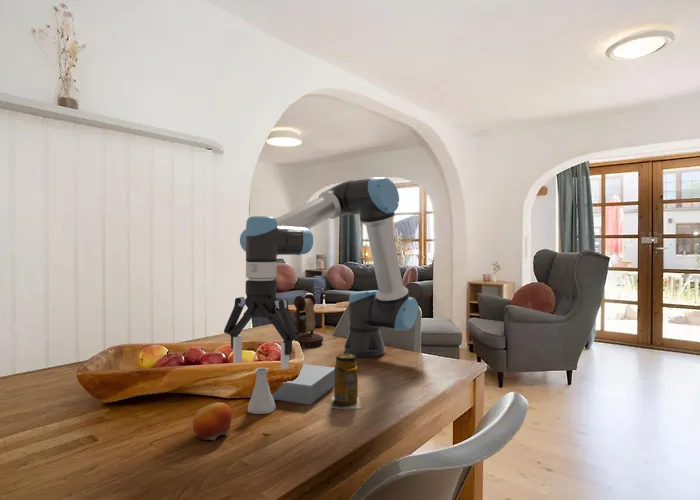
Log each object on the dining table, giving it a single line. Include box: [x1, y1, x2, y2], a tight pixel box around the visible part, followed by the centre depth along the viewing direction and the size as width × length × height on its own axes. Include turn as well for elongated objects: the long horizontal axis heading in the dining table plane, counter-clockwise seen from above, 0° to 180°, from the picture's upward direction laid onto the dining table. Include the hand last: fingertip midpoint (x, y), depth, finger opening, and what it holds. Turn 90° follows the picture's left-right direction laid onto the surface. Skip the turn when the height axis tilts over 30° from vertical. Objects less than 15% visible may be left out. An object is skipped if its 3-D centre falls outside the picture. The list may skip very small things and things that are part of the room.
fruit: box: [192, 401, 233, 442], centre depth 92 cm, size 8×8×8 cm
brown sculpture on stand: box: [293, 293, 324, 349], centre depth 175 cm, size 15×15×20 cm
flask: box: [247, 367, 277, 415], centre depth 107 cm, size 7×7×10 cm
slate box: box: [272, 363, 335, 406], centre depth 119 cm, size 17×13×5 cm
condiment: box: [330, 353, 361, 410], centre depth 111 cm, size 7×8×12 cm
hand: (260, 365), depth 106 cm, fingers open, 13 cm apart
